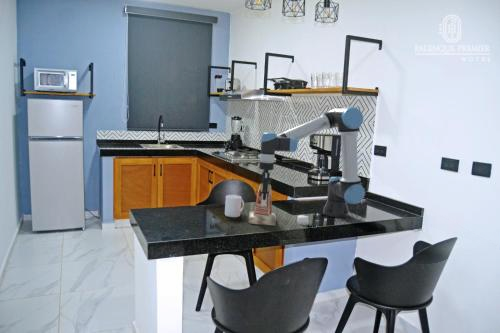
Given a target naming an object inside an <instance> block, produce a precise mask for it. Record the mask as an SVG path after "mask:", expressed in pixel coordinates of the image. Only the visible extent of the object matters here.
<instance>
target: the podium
mask: <svg viewBox="0 0 500 333" xmlns="http://www.w3.org/2000/svg"><path fill="white" fill-rule="evenodd" d="M253 213H254V210H253V211H249V213H248V214H249V215H248V224H253V225H264V226H276V225H277V219H276V218H277V217H276V213H274V212H272V215H271V217H270V218H269V217H261V216H255V215H253Z"/></svg>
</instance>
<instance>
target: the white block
mask: <svg viewBox="0 0 500 333" xmlns="http://www.w3.org/2000/svg"><path fill="white" fill-rule="evenodd" d="M296 220H297V221H296V222H297V223H296V224H297V225H300V226H308V225H309V223H310V222H309V220H310V216H307V215H303V214H302V215H301V214H300V215H297V219H296Z"/></svg>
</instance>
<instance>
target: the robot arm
mask: <svg viewBox="0 0 500 333" xmlns="http://www.w3.org/2000/svg"><path fill="white" fill-rule="evenodd" d="M363 122H364V115H363V113H362V111H361V110H360V109H359V108H357V107H354V106H338V107H335V108H332V109H330V110H328V111H326V112H324V113H321V114H320V116H318V117H316V118H314V119H312V120H310V121H307V122H305V123H303V124H301V125H298V126H296V127H295V126H294V127H293V128H291V129H288V130H286V131H284V132H282V133H279V134H276V133H275V132H266V131H264V132H263V133H262V135H261V138H260V140H261V141H260V155H258V157H259V161H260V162H259V165H258V168H259V170H262V172H261V179H262V181H261V182H263V191H262V192H261V193H262V199H261V206H266V202H267V193H268V192H267V190H268V183H269V182H270V176H271V175H270V172H269V171H273V170H274V168H275V167H274V165H275V164H274V163H275V153H276V152H284V153H285V152H288V153H294V152H296V151H297V149H298V141H300V140H303V139H305V138H307V137H310V136H312V135H315V134H317V133H318V132H322V131H324V130H327V131H328V130H331V129H333V128H337V132H338V133H339V134H340V145H341V147H340V148H341V149H340V150H341V175H342V176H331V177H330V178H329V181H328V188H327V197H326V198H327V199H326V203H325V205H324V206H323V209H322V214H324V215H325V216H328V217H332V218H333V217H334V218H348V217H349V213H350V212H349V209H348V204H350V205H356V204H359V203H361V202H362V200H363V199H364V198H365V195H366V191H365V190H366V189H365V188H364V187H363V185H362V183H361V182H362V181H361V178H360V177H359V170H358V166H359V165H358V133H359V132H360V131H361V130H360V127H361V126H362V124H363Z"/></svg>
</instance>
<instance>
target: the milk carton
mask: <svg viewBox="0 0 500 333" xmlns="http://www.w3.org/2000/svg"><path fill="white" fill-rule="evenodd" d="M258 187H259V188H258V190H257V195H256V199H255V204H254V210H253V211H254V213H253V215H255V216H261V217H269V218H270V217H271V215H272V213H273V204H272V203H273V200H272V198H273V197H272V196H273V195H272V185H271V183H269V182H268V190H267V192H268V193H267V202H266V206H261V199H262V193H261V192H262V191H263V181H261V183H260V184H259V186H258Z"/></svg>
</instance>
